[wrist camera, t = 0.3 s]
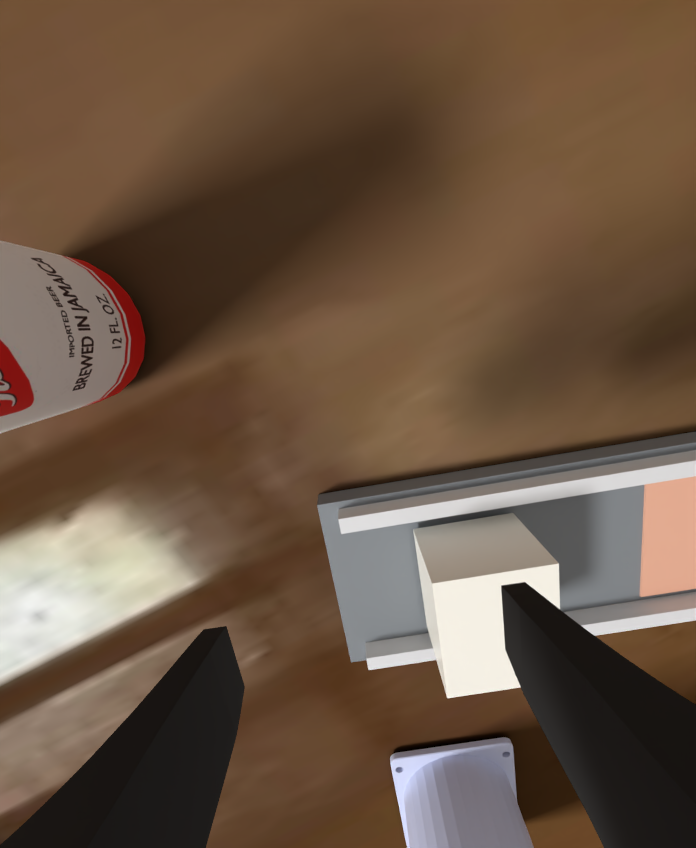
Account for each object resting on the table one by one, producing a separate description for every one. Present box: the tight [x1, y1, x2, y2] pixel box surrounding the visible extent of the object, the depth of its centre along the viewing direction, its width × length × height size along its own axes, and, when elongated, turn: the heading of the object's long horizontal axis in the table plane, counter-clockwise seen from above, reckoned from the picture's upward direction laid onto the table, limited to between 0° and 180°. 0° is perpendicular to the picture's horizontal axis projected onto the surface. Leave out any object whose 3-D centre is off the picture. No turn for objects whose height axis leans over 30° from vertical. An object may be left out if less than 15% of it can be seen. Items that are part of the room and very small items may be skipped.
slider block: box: [413, 513, 560, 698], centre depth 17 cm, size 6×5×4 cm
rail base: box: [317, 431, 696, 670], centre depth 18 cm, size 10×24×4 cm, turn 100°
